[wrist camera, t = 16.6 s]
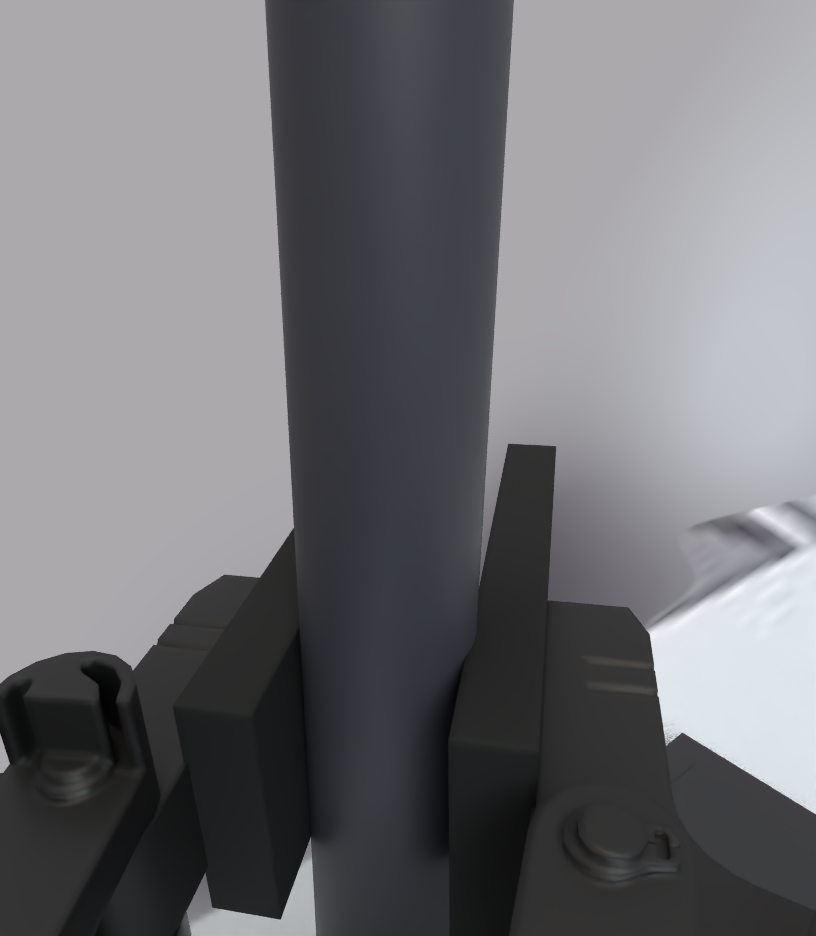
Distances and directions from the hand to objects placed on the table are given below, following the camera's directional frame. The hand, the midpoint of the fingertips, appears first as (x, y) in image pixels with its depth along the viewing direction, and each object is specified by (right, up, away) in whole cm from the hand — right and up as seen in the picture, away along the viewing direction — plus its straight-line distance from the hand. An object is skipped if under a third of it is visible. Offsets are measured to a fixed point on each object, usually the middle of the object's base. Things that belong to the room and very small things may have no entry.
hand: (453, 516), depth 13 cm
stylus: (-1, -12, 0) cm, 12 cm away
